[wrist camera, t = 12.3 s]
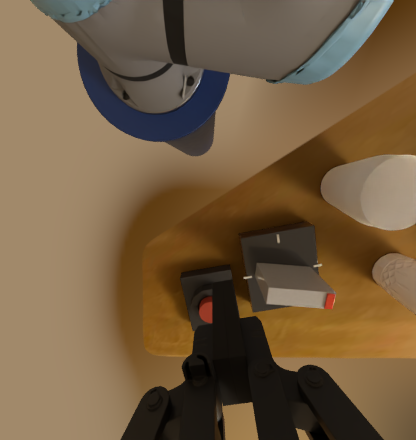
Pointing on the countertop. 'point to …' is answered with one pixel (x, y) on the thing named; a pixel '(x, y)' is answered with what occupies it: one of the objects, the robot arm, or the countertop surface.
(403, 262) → the white cup
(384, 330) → the countertop surface
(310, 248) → the dark gray dial base
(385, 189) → the cup
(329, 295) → the upright gray tile
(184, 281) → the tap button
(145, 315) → the countertop surface
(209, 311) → the button
